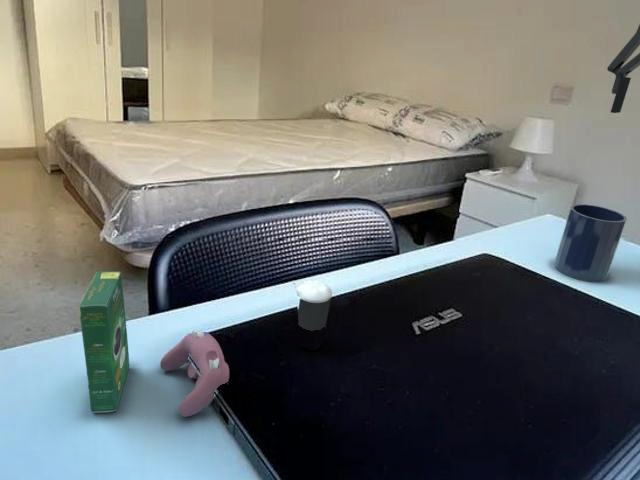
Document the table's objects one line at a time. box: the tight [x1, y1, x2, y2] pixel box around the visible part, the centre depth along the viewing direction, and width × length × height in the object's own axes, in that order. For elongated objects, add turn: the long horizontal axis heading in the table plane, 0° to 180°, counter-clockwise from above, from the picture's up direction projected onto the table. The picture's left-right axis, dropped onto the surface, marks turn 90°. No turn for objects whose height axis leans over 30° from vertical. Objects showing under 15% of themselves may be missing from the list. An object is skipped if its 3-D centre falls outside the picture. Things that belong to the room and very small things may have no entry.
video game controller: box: [159, 330, 230, 418], centre depth 57 cm, size 10×5×7 cm, turn 30°
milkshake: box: [291, 279, 333, 331], centre depth 65 cm, size 4×5×10 cm
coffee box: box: [78, 270, 130, 414], centre depth 54 cm, size 8×3×13 cm, turn 10°
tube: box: [553, 203, 628, 283], centre depth 95 cm, size 9×9×12 cm
